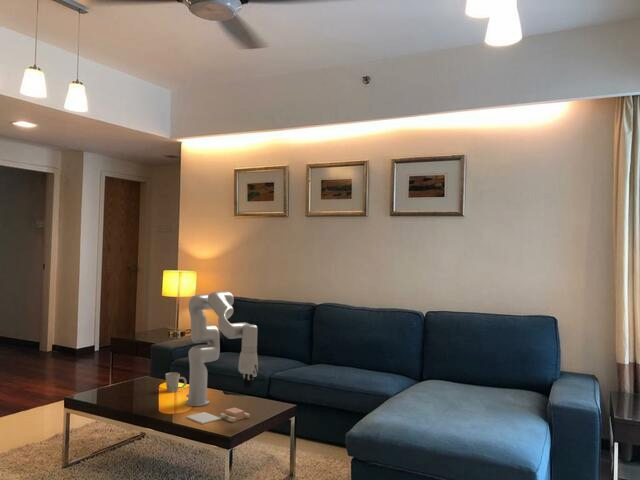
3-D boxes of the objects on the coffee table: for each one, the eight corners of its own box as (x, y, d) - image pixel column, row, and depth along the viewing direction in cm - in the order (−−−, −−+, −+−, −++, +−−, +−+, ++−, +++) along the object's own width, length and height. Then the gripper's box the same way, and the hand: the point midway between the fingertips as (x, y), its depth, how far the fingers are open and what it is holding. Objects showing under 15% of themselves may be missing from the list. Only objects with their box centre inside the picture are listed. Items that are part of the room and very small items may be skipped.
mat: (186, 417, 258) (186, 416, 258) (204, 413, 266) (204, 411, 266) (202, 424, 248) (202, 422, 248) (221, 419, 256) (221, 418, 256)
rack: (219, 417, 259) (219, 413, 259) (235, 413, 267) (236, 409, 267) (233, 422, 252) (233, 418, 252) (249, 418, 260) (249, 414, 260)
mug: (166, 389, 311) (166, 372, 312) (187, 389, 313) (188, 372, 313) (163, 392, 303) (164, 375, 303) (185, 392, 304) (186, 375, 305)
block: (224, 417, 260) (225, 409, 260) (234, 415, 264) (234, 407, 265) (234, 421, 255) (235, 413, 255) (244, 418, 259) (244, 410, 259)
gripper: (233, 348, 257) (232, 385, 256) (253, 353, 247) (252, 391, 246) (244, 346, 262) (243, 383, 262) (265, 351, 252) (264, 389, 251)
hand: (247, 387), depth 254 cm, fingers closed
